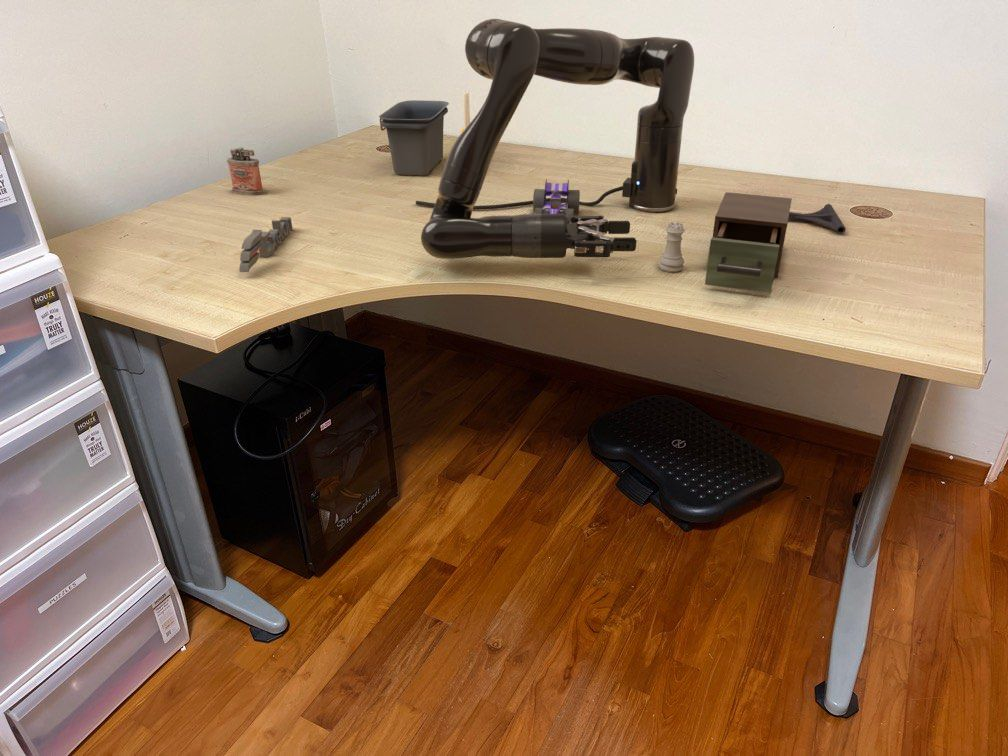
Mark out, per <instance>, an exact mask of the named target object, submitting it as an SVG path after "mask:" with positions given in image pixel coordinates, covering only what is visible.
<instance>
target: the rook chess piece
mask: <svg viewBox="0 0 1008 756" xmlns="http://www.w3.org/2000/svg"><path fill="white" fill-rule="evenodd" d="M664 230H665V232H666V234H667V235H666V237H665V240H666V243H665V246H664V251H663V252H662V253H661V256H660V257H659V258H658V262H659V263H658V265H657V266H658V268H659V269H660V270H661V271H663V272H666V273H679V272H681V271H682V270H683V269H684V268H685V265H684V263H685V259H684V257H683V254H682V248H681V247H682V246H681V245H682V240H683V237H682V235H683V234H684V232H685V231H686V230H685V228H684V224H683V223H682V222H681V223H680V222H678V221H676V222H674V221H671V222H668V223H667V226H666V227H665V229H664Z"/></svg>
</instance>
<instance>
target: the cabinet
mask: <svg viewBox="0 0 1008 756" xmlns="http://www.w3.org/2000/svg"><path fill="white" fill-rule="evenodd" d="M792 200H793V198H791V197H781V196H771V195H761V194H750V193H739V192H729V191H725V193H724V194H723V197H722V199H721V202H720V204H719V207H718V209H717V212H716V213H715V215H714V216H715V217H714V224H713V231H712V237H714V238H717V235H718V233H719V230H720V228H721V225H722V223H723V222H733V223H742V224H752V225H761V226H771V227H779V228H778V233H777V239H776V244H777V245H779V251H778V256H777V262H776V267H775V273H774V278H775V279H778V277H779V272H780V266H781V260H782V255H783V252H784V251H783V250H784V245H785V239H786V234H787V228H788V223H789V221H788V218H789V212H791V207H792Z"/></svg>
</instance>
